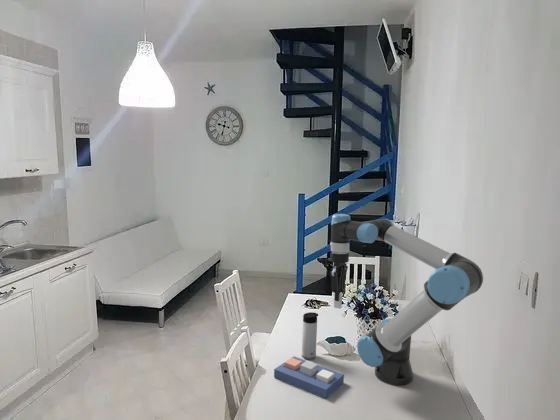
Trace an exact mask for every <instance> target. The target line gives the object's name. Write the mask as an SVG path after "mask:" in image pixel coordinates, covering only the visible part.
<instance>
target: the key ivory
mask: <svg viewBox="0 0 560 420" xmlns="http://www.w3.org/2000/svg"><path fill="white" fill-rule="evenodd" d="M316 379H317V380H319V381H322V382H325V383H327V384H328V383H330V382H331V381H332V380H333V379H334V373H332V372H329V371H327V370H324V369H323V370H321V371H320V372H319V373H317V374H316Z"/></svg>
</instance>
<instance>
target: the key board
mask: <svg viewBox="0 0 560 420" xmlns="http://www.w3.org/2000/svg"><path fill="white" fill-rule="evenodd" d="M291 358H294V359H297V360H299V361H302V364H303V363H304V362H306V361H307V360H306V359H304V358H299V357H296V356H292V357H291ZM285 362H286V361H284V362H283V363H281V364H280V365H278V366H276V367H275V368H274V369H273V371H274V372H273V378H275V379H277V380H280V381H282V382H285V383H287V384H289V385H292V386H294V387H297V388H299V389H301V390H304V391H307V392H309V393H311V394H314V395H316V396H319V397H321V398H324V399H327V398H329V396H330V395H331V394H333V393H334V392H335V391H336V390H337V389H338V388H339V387H340V386H342V385H343V384H344V381H345V374H344V373H341V372H338V371H335V370H332V369H330V368H327V367H326V366H325V367H324V366H322V365H318V371H317V373H319V372H320V371H321V370H323V369H324V370H327V371H329V372H332V373H334V379H333V380H332V381H331V382H330V383H328V384H327V383H325V382H322V381H319V380H317V379H316V374H317V373H316V374H315V375H313V376H312V377H309V376H307V375H304V374H301V373H300V368H299V369H298V370H296V371H294V370H291V369H288V368H286V367H285Z"/></svg>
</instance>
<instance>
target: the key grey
mask: <svg viewBox="0 0 560 420" xmlns="http://www.w3.org/2000/svg"><path fill="white" fill-rule="evenodd" d="M305 361H306V362H304V363H303V364H301V365H300V373H301V374H304V375H307V376H309V377H312V376H313V375H315V374H316V373H317V371H318V363H315V362H313V361H309V360H305Z"/></svg>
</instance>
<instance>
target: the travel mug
mask: <svg viewBox="0 0 560 420" xmlns="http://www.w3.org/2000/svg"><path fill="white" fill-rule="evenodd" d="M318 317H319V313H316V312H311V311H310V312H305V313H303V315H302V336H301V338H302V340H301V341H302V342H301V358H302V359H303V360H307V361H309V360H314V359H315V358H316V357H317V333H318V331H317V329H318Z"/></svg>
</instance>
